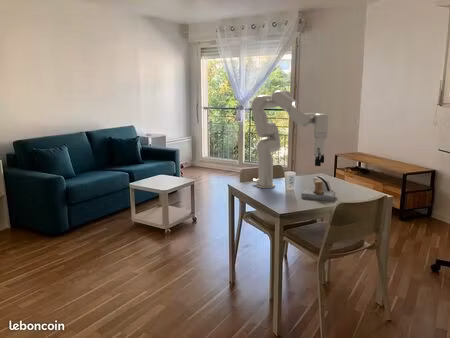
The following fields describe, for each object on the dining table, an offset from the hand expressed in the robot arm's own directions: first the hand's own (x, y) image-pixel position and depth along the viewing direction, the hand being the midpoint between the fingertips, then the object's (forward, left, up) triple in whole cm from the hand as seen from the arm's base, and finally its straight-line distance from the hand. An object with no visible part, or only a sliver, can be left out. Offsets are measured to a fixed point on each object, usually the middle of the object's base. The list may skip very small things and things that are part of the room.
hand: (319, 164), depth 219 cm
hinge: (-1, +17, -21) cm, 27 cm away
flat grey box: (0, 0, -20) cm, 20 cm away
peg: (0, 0, -20) cm, 20 cm away
